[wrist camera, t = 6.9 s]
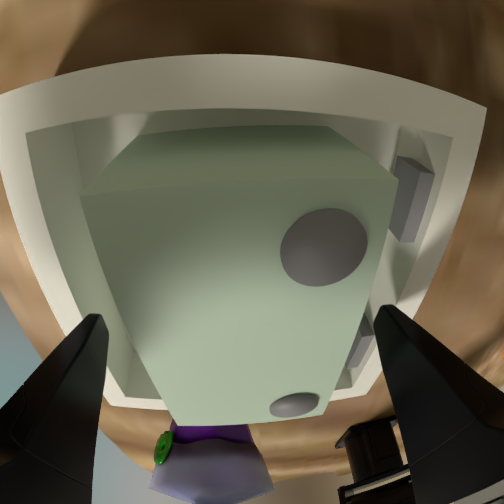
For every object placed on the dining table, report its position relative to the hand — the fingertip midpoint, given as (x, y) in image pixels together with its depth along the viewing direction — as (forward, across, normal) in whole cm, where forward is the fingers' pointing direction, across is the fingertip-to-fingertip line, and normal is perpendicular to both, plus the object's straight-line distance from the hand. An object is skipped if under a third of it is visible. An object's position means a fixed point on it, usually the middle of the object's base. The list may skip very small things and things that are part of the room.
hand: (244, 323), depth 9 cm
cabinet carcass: (+4, 0, 0) cm, 4 cm away
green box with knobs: (+3, 0, 0) cm, 3 cm away
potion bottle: (+4, +2, +15) cm, 16 cm away
